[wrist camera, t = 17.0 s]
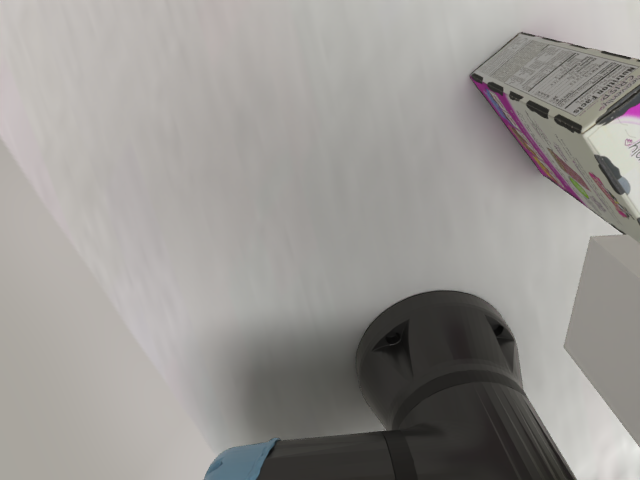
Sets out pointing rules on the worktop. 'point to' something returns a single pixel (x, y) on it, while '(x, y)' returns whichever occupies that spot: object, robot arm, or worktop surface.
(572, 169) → the candy bar box
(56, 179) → the worktop surface
